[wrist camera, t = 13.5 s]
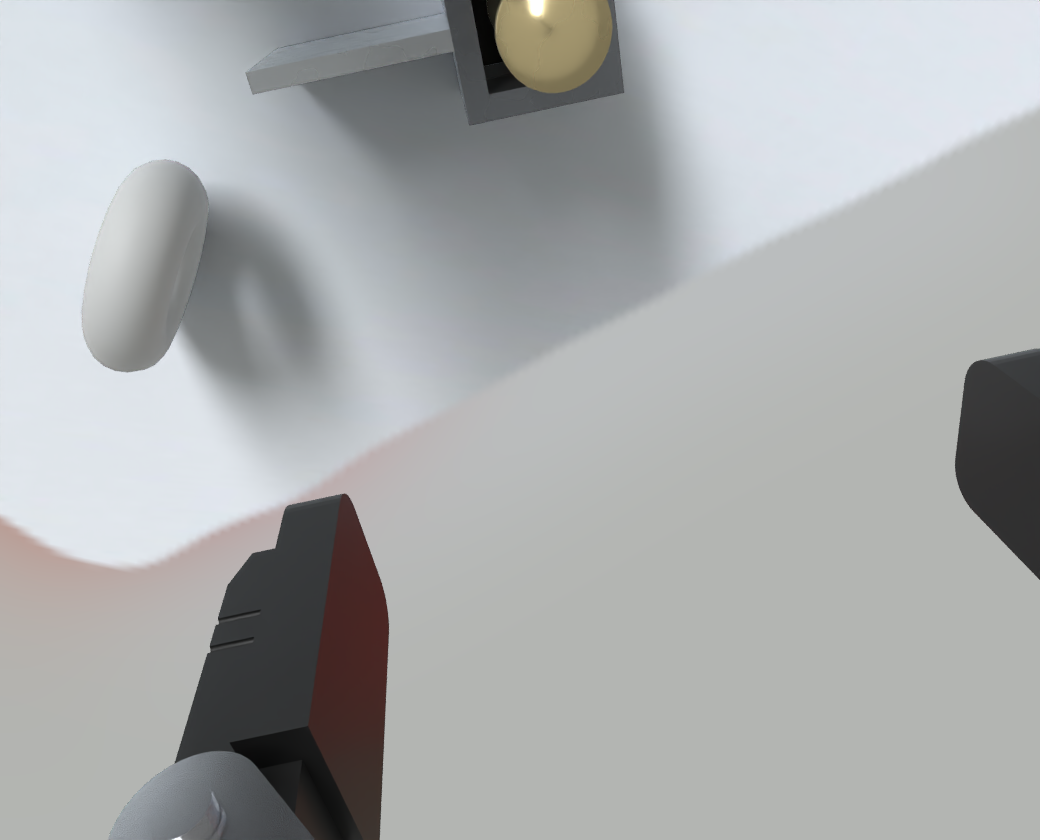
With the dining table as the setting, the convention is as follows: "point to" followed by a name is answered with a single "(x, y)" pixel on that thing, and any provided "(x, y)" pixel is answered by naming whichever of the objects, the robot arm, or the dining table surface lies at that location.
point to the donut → (144, 265)
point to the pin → (551, 40)
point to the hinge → (452, 31)
